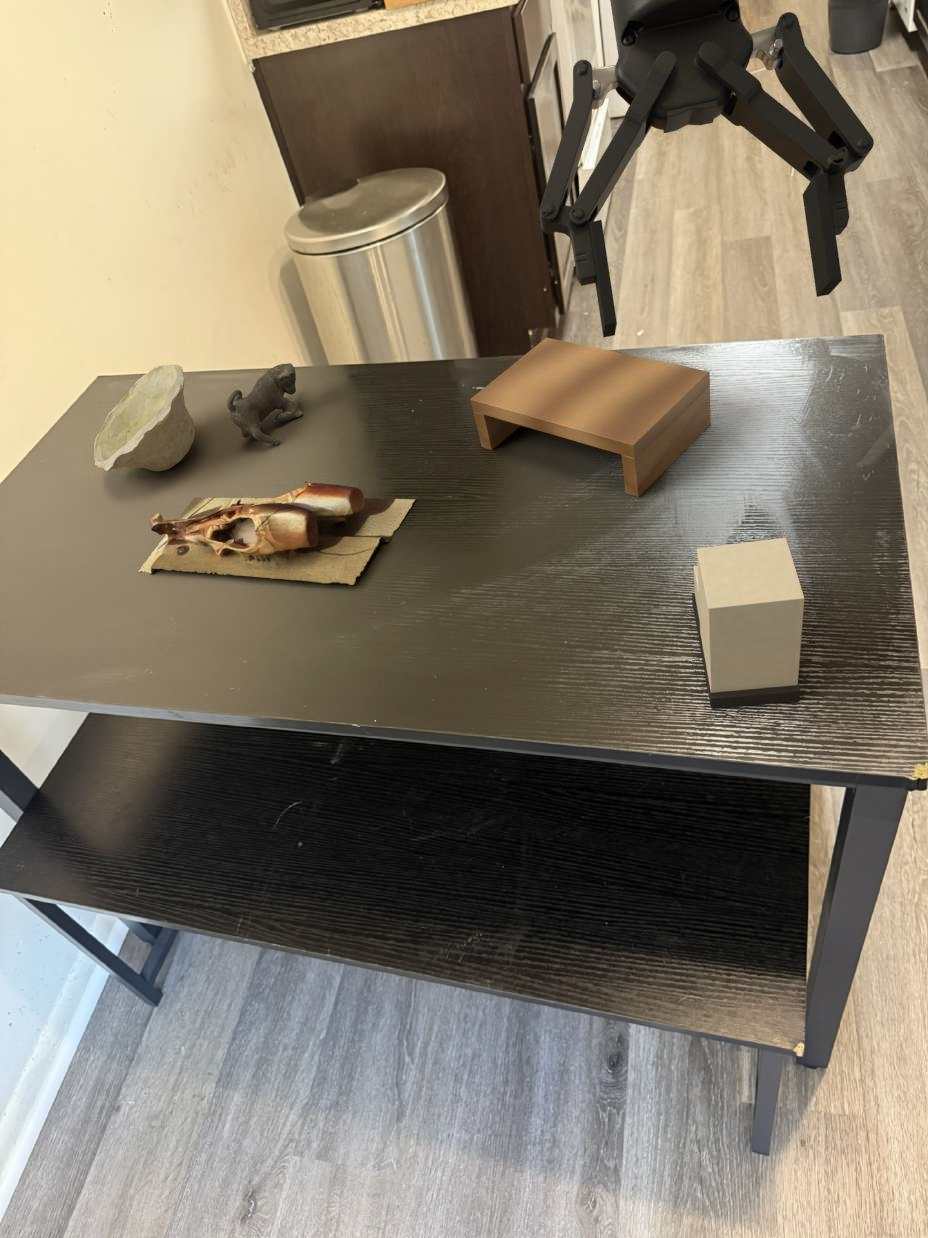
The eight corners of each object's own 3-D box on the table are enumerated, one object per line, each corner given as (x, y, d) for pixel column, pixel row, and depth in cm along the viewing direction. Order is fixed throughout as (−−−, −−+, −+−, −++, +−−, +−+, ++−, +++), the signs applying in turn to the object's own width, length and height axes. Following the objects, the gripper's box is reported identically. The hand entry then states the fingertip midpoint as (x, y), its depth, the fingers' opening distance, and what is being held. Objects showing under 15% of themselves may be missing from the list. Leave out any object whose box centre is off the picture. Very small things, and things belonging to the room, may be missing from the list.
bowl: (112, 448, 112) (71, 380, 105) (215, 414, 112) (181, 343, 105) (105, 513, 101) (59, 441, 94) (220, 475, 101) (182, 401, 94)
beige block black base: (799, 701, 62) (807, 603, 55) (710, 709, 63) (707, 614, 56) (771, 594, 70) (775, 496, 63) (692, 603, 71) (687, 508, 64)
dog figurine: (269, 454, 102) (244, 400, 97) (233, 450, 105) (207, 396, 100) (324, 398, 109) (303, 344, 104) (289, 395, 111) (267, 342, 106)
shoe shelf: (711, 424, 87) (709, 371, 83) (638, 497, 82) (633, 444, 78) (554, 385, 99) (546, 337, 95) (481, 447, 93) (469, 399, 89)
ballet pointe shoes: (351, 541, 76) (99, 537, 86) (374, 593, 81) (132, 584, 91) (398, 445, 85) (163, 451, 94) (416, 497, 89) (191, 498, 99)
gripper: (856, -38, 56) (901, 290, 57) (478, 52, 59) (525, 361, 60) (900, -131, 49) (951, 247, 49) (465, -23, 52) (519, 331, 53)
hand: (717, 310), depth 55 cm, fingers open, 13 cm apart
